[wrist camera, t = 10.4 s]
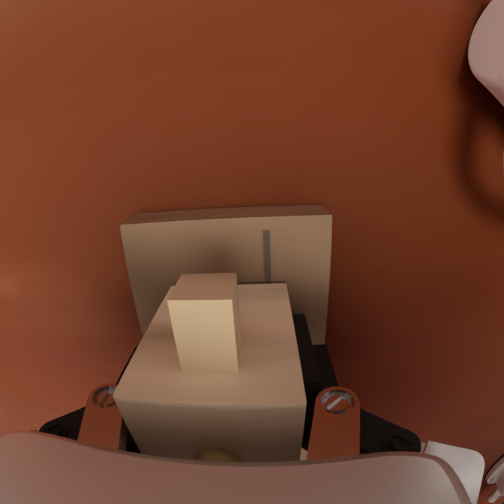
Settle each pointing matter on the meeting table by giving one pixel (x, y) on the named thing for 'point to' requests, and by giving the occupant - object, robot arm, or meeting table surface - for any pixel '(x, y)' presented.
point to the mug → (489, 50)
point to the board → (233, 255)
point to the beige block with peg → (217, 375)
